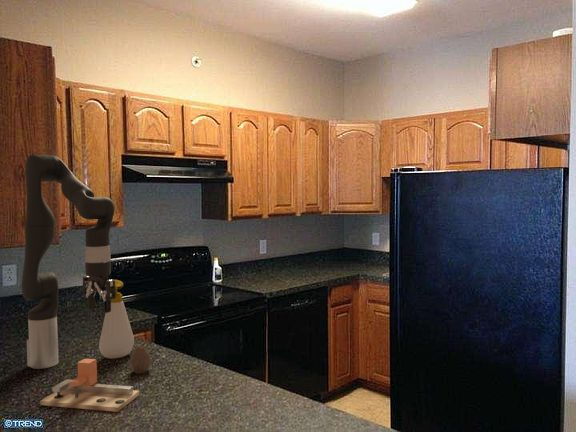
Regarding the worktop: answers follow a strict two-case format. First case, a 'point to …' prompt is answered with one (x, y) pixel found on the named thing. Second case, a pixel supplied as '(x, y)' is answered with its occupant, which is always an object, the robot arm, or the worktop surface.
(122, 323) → the soap bottle
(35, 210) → the robot arm
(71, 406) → the hole board
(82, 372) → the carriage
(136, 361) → the vase
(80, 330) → the worktop surface
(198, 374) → the worktop surface
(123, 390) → the rail
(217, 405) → the worktop surface
